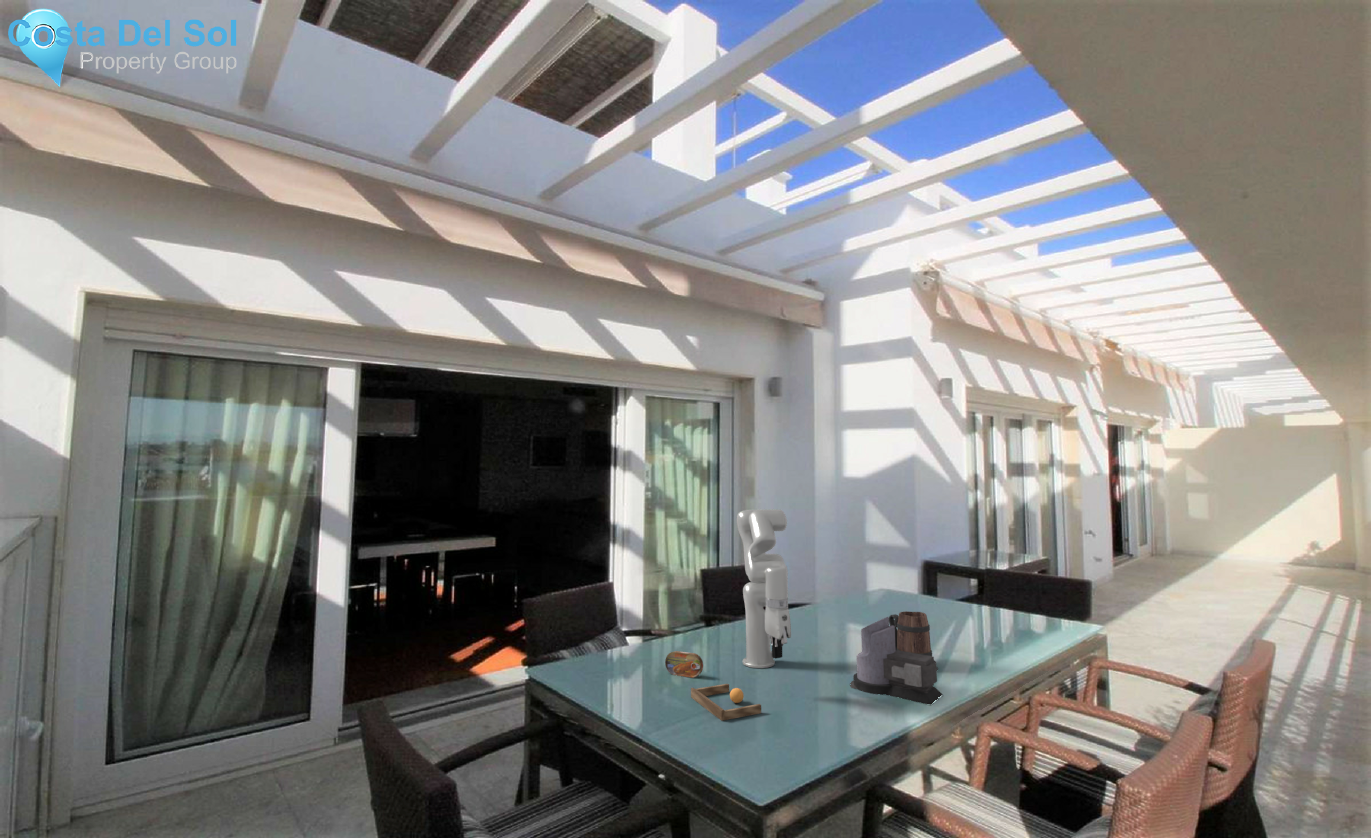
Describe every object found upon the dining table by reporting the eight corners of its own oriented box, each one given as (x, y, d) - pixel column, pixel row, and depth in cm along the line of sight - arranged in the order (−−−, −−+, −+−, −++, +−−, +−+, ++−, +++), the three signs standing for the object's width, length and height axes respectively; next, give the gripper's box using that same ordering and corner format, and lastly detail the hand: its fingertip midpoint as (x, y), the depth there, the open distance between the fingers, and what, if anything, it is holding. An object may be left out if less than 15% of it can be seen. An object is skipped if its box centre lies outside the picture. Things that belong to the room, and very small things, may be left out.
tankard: (948, 669, 234) (945, 615, 236) (914, 676, 227) (912, 620, 229) (902, 653, 255) (900, 604, 257) (870, 659, 248) (868, 608, 250)
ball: (734, 684, 206) (724, 692, 203) (742, 685, 202) (732, 694, 199) (741, 696, 205) (731, 705, 203) (748, 698, 202) (738, 706, 199)
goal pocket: (727, 691, 213) (727, 682, 213) (761, 713, 193) (761, 703, 193) (691, 697, 207) (690, 688, 208) (721, 720, 187) (721, 710, 188)
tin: (664, 673, 232) (664, 650, 233) (668, 671, 235) (668, 648, 236) (700, 679, 225) (700, 655, 226) (704, 677, 228) (704, 653, 229)
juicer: (841, 687, 216) (839, 615, 219) (862, 675, 229) (859, 607, 231) (928, 707, 197) (925, 628, 199) (945, 694, 209) (942, 619, 211)
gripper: (798, 606, 206) (799, 662, 206) (774, 596, 220) (774, 649, 219) (779, 609, 203) (779, 666, 203) (755, 599, 217) (756, 652, 216)
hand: (777, 657), depth 211 cm, fingers closed
